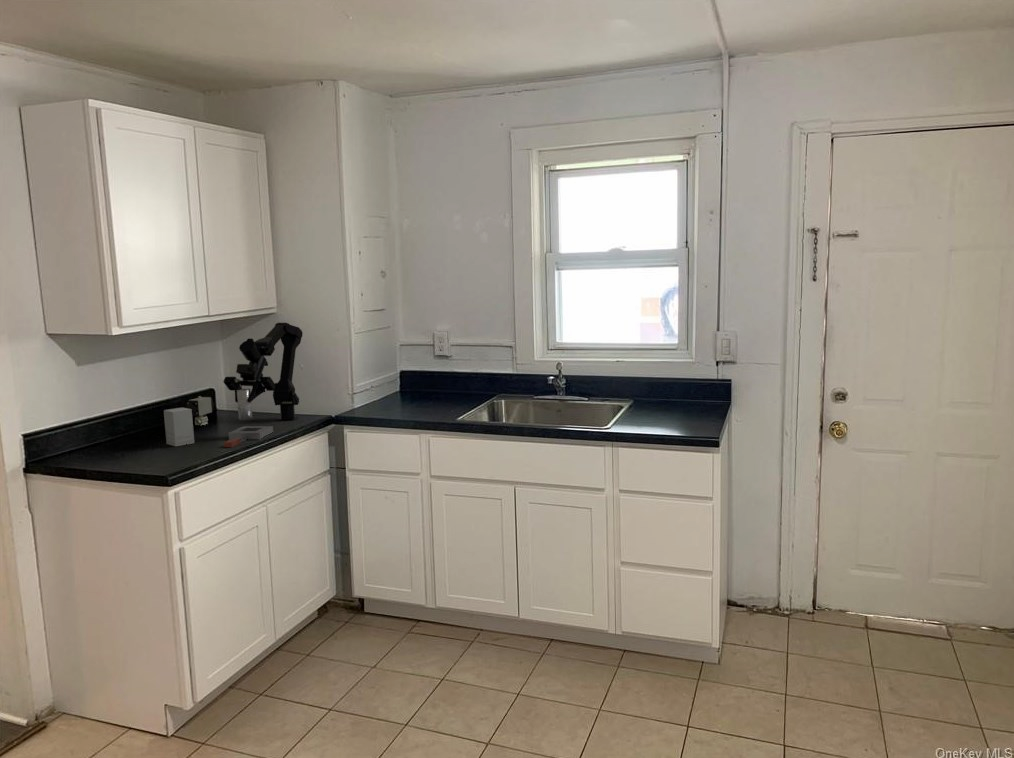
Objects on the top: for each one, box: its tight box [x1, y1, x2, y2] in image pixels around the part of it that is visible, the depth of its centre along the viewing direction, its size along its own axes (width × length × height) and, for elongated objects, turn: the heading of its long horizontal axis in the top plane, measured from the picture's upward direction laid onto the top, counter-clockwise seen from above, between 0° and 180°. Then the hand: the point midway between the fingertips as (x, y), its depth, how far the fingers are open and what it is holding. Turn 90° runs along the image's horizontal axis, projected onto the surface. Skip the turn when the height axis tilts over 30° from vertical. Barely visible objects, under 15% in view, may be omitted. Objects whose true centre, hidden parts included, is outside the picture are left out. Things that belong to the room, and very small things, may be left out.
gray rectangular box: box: [223, 425, 274, 448], centre depth 288 cm, size 25×12×2 cm, turn 174°
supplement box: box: [163, 407, 195, 447], centre depth 284 cm, size 7×7×13 cm
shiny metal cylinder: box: [237, 388, 253, 421], centre depth 293 cm, size 5×5×11 cm
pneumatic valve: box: [185, 395, 215, 427], centre depth 318 cm, size 6×12×12 cm, turn 162°
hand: (242, 401), depth 292 cm, fingers closed on shiny metal cylinder, 5 cm apart
